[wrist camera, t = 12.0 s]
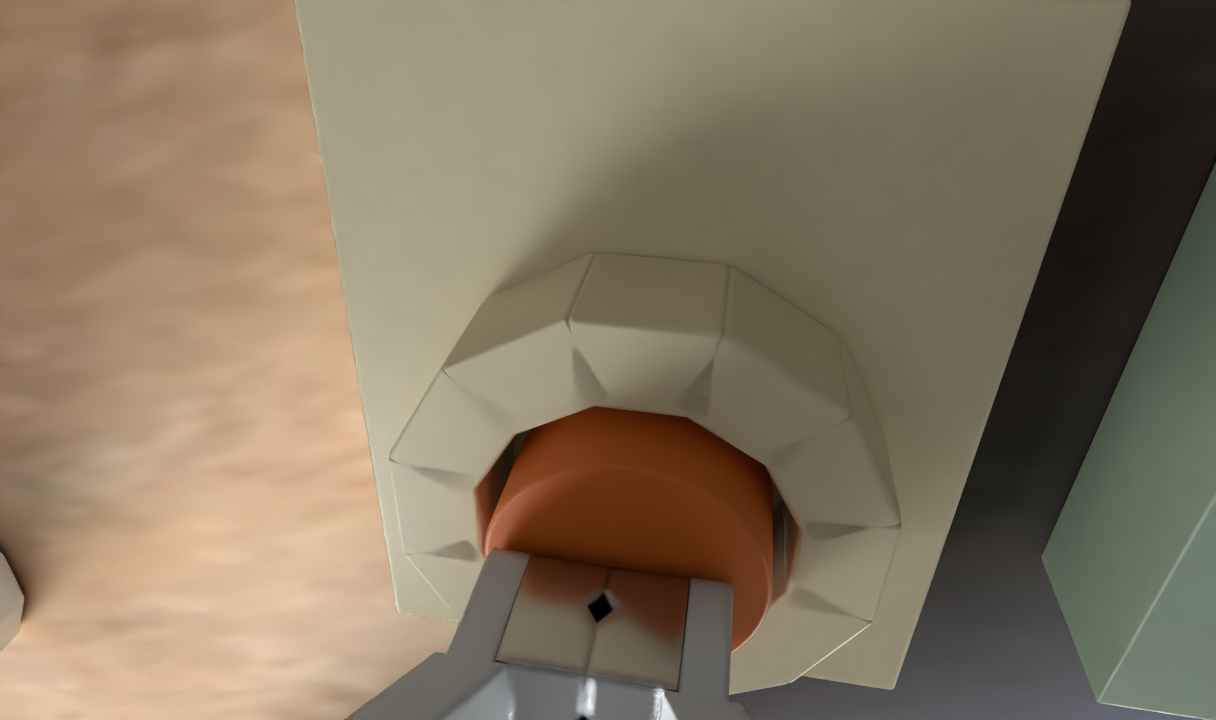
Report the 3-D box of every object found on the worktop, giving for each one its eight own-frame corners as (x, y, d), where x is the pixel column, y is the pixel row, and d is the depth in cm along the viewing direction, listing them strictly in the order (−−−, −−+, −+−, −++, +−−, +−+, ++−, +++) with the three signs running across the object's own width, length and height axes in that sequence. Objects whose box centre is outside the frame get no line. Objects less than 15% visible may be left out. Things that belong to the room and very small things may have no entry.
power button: (514, 366, 11) (473, 447, 9) (790, 397, 10) (794, 489, 9) (522, 560, 13) (490, 652, 11) (754, 593, 12) (753, 694, 11)
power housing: (364, -63, 11) (185, -25, 8) (1068, -30, 10) (1225, 29, 6) (435, 530, 17) (353, 698, 13) (880, 594, 16) (910, 794, 12)
